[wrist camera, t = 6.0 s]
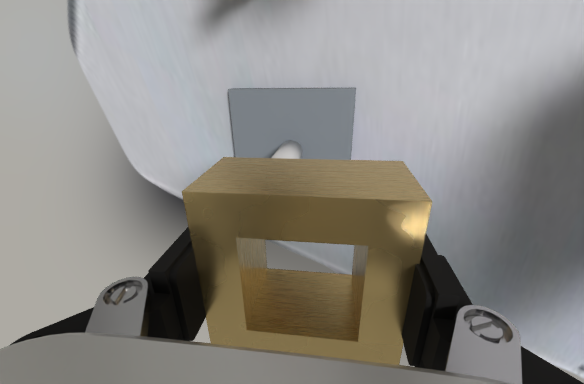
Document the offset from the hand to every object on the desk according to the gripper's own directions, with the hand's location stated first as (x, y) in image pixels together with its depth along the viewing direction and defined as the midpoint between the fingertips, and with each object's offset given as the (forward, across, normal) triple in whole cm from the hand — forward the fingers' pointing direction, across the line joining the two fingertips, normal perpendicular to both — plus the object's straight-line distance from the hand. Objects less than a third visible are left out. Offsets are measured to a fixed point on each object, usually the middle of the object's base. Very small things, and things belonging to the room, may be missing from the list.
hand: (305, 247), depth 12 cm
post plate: (+19, +3, +1) cm, 19 cm away
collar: (+1, 0, 0) cm, 1 cm away
